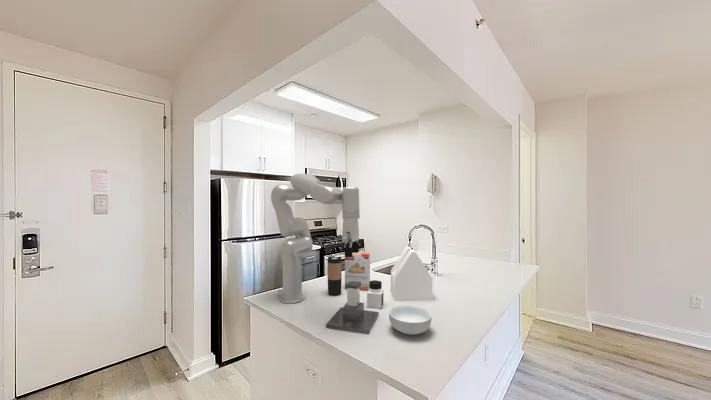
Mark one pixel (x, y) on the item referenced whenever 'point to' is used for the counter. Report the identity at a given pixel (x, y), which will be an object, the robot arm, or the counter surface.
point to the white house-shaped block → (410, 278)
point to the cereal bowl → (410, 319)
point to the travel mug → (334, 276)
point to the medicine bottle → (375, 294)
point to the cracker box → (358, 269)
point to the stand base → (353, 319)
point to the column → (353, 294)
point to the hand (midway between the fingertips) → (352, 254)
